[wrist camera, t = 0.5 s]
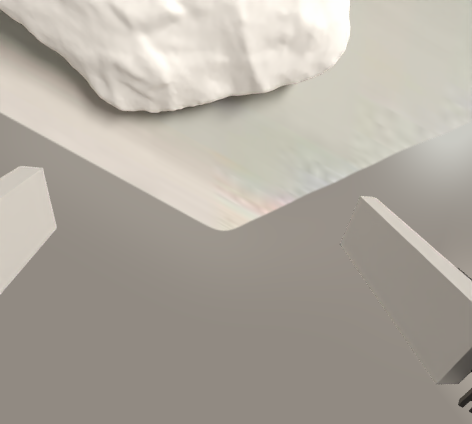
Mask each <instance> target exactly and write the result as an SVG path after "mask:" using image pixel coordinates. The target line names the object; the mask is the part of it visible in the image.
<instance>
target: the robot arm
mask: <svg viewBox="0 0 472 424" xmlns="http://www.w3.org/2000/svg"><path fill="white" fill-rule="evenodd" d="M56 229H57V226H56V222H55V218H54V214H53V210H52V205H51V201H50V197H49V193H48V189H47V184H46V180H45V176H44V172H43V168H36V167H26V166H19V167H18V168H16V169H15V170H13V171H11V172H10V173H8V174H6V175H5V176H3V177H2V178H0V294H1V293H2V292H3V291H4V290H5V289H6V287H7V286H8V285H9V284H10V283H11V281H12V280H13V279H14V278H15V277H16V275H17V274H18V273H19V272H20V271H21V270H22V269H23V267H24V266H25V265H26V264H27V263H28V261H29V260H30V259H31V258H32V257H33V256H34V254H35V253H36V252H37V251H38V250H39V249H40V247H41V246H42V245H43V244H44V243H45V241H46V240H47V239H48V238H49V237H50V235H51V234H52V233H53V232H54V231H55V230H56ZM340 245H341V247H342V248H343V250H344V251H345V252H346V254H347V255H348V257H349V258H350V260H351V261H352V263H353V264H354V266H355V267H356V268H357V270H358V272H359V273H360V274H361V276H362V277H363V279H364V280H365V282H366V283H367V285H368V286H369V288H370V289H371V290H372V292H373V293H374V295H375V296H376V298H377V299H378V301H379V302H380V304H381V305H382V306H383V308H384V309H385V311H386V312H387V314H388V315H389V317H390V318H391V319H392V321H393V322H394V324H395V325H396V327H397V328H398V330H399V331H400V333H401V334H402V335H403V337H404V338H405V340H406V341H407V343H408V344H409V346H410V347H411V349H412V350H413V352H414V353H415V354H416V356H417V357H418V359H419V360H420V362H421V363H422V365H423V366H424V368H425V369H426V371H427V372H428V373H429V375H430V376H431V377H432V379H433V381H434V382H435V384H459V383H460V382H461V381H462V380H463V379H464V378H465V377H466V376H467V375H468V374H469V373H470V372H472V279H471V278H469V277H468V276H467V275H466V274H465V273H464V272H462V271H461V270H460V269H459V268H457V267H455V266H454V265H453V264H452V263H451V262H449V261H448V260H447V259H446V258H445V257H443V256H442V255H441V254H440V253H439V252H438V251H437V250H435V249H434V248H433V247H432V246H431V245H430V244H429V243H427V242H426V241H425V240H424V239H423V238H422V237H421V236H419V235H418V234H417V233H416V232H415V231H414V230H412V229H411V228H410V227H409V226H408V225H407V224H405V223H404V222H403V221H402V220H401V219H399V217H397V216H396V215H395V214H394V213H393V212H392V211H391V210H389V209H388V208H387V207H386V206H385V205H384V204H383V203H381V202H380V201H379V200H378V199H377V198H376V197H365V196H360V197H359V200H358V202H357V205H356V207H355V209H354V212H353V214H352V217H351V219H350V222H349V224H348V226H347V229H346V231H345V233H344V236H343V238H342V241H341V243H340ZM469 401H472V388H471V389H470V390H469V391H468V392H467V393H466V394H465V395H464V396H463V397H462V398H460V400H459V404H458V405H459V406H461V407H464V406H465V405H466V404H467V403H468V402H469ZM469 412H471V413H472V408H471V409H470V410H469Z"/></svg>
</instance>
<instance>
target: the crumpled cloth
mask: <svg viewBox="0 0 472 424" xmlns="http://www.w3.org/2000/svg"><path fill="white" fill-rule="evenodd" d="M0 9H1V10H2V11H3V12H4V13H6V14H7V15H8V16H10V17H11V18H12V19H14V20H15V21H17V22H19V23H21V24H22V25H24V26H25V27H26V28H27V30H28V31H29V32H30V33H32V34H33V35H34V36H35V37H36V38H37V39H38V40H39V41H40V42H41V43H43V44H45V45H46V46H48V47H49V48H51V49H53V50H54V51H56V52H57V53H59V54H60V55H61V56H62V57H64V58H65V59H66V60H67V61H68V62H69V64H70V65H71V66H72V67H73V68H74V69H76V70H77V71H78V72H79V73H80V74H81V75H82V76H83V77H84V78H85V79H86V80H87V81H88V83H89V85H90V86H91V87H92V88H93V90H94V91H95V92H96V93H97V94H98V96H99V97H100V98H101V99H103V100H104V101H106V102H107V103H109V104H111V105H113V106H114V107H116V108H118V109H119V110H122V111H138V110H145V111H148V112H150V113H159V112H160V111H175V110H177V109H183V108H185V107H188V106H190V107H194V106H196V105H203V104H206V103H211V102H214V101H217V100H220V99H223V98H226V97H228V96H240V95H249V94H258V93H266V92H269V91H272V90H274V89H276V88H279V87H281V86H283V85H291V84H297V83H299V82H303V81H305V80H308V79H311V78H313V77H315V76H318V75H321V74H322V73H324V72H325V71H327V70H328V69H330V68H331V67H333V66H334V65H335V63H336V62H337V60H338V59H339V58H340V57H341V56H342V55H343V53H344V51H345V49H346V46H347V43H348V40H349V37H350V22H349V9H350V1H349V0H0Z"/></svg>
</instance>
